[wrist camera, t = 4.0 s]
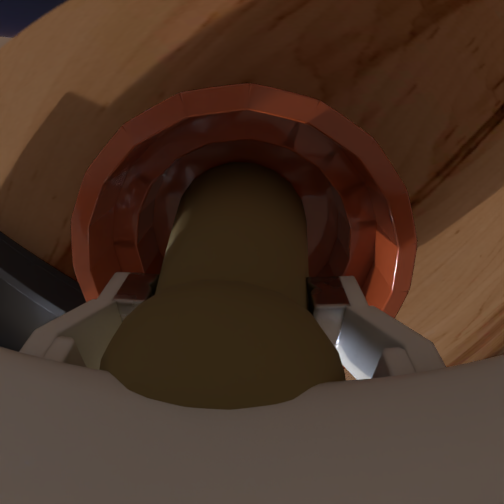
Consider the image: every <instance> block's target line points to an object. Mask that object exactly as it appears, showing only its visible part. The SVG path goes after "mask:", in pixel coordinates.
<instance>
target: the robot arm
mask: <svg viewBox="0 0 504 504" xmlns="http://www.w3.org/2000/svg"><path fill="white" fill-rule="evenodd" d="M159 276H160V274H149V273H131V272H116V273H115V274H114V275H113V277H112V278H111V279H110V281H109V282H108V284H107V285H106V286H105V288H104V289H103V291H102V292H101V294H100V295H99V297H98V298H97V299H92V300H90V301H88V302H86V303H84V304H82V305H80V306H78V307H77V308H75V309H73V310H71V311H69V312H67V313H65V314H63V315H61V316H60V317H58V318H56V319H54V320H52V321H50V322H48V323H46V324H45V325H43V326H41V327H39V328H37V329H35V330H34V332H33V333H32V334H31V336H30V337H29V338H28V340H27V341H26V343H25V344H24V345H23V347H22V348H21V350H20V351H19V352H18V351H14V350H10V349H7V348H4V347H0V504H504V354H503V355H499V356H495V357H491V358H487V359H483V360H479V361H474V362H470V363H465V364H461V365H456V366H451V367H446V366H445V364H444V362H443V360H442V358H441V357H440V355H439V353H438V351H437V349H436V348H435V346H434V344H433V342H431V341H430V340H428V339H426V338H425V337H423V336H422V335H420V334H418V333H417V332H415V331H414V330H412V329H410V328H409V327H407V326H406V325H404V324H402V323H401V322H399V321H397V320H396V319H394V318H393V317H391V316H389V315H388V314H386V313H384V312H383V311H381V310H380V309H378V308H376V307H375V306H369V305H368V303H367V301H366V299H365V297H364V295H363V293H362V291H361V289H360V287H359V285H358V283H357V281H356V279H355V277H354V276H332V277H306V283H307V293H308V298H309V312H310V313H311V314H312V315H313V317H314V318H315V320H316V321H317V322H318V324H319V325H320V327H321V328H322V329H323V331H324V332H325V334H326V335H327V336H328V338H329V339H330V341H331V342H332V344H333V345H334V346H335V348H336V349H337V351H338V352H339V356H340V359H341V362H342V365H343V366H344V367H345V368H346V369H347V370H348V371H349V372H350V373H351V374H352V375H353V376H354V377H355V378H356V379H357V380H349V381H335V382H325V383H321V384H318V385H316V386H314V387H311V388H310V389H308V390H307V391H305V392H304V393H302V394H301V395H299V396H298V397H296V398H295V399H293V400H290V401H286V402H283V403H279V404H274V405H267V406H260V407H252V408H243V409H233V410H223V409H205V408H191V407H183V406H178V405H174V404H169V403H165V402H161V401H157V400H153V399H149V398H146V397H144V396H142V395H139V394H137V393H135V392H132V391H130V390H128V389H127V388H126V387H125V386H124V385H123V384H122V383H121V382H119V381H118V380H117V379H116V378H115V377H114V376H113V375H112V374H111V373H110V372H108V371H104V370H99V368H100V362H101V358H102V356H103V354H104V352H105V350H106V348H107V346H108V344H109V343H110V341H111V339H112V337H113V336H114V334H115V333H116V331H117V329H118V328H119V326H120V325H121V323H122V322H123V320H124V318H125V317H126V316H127V315H128V314H130V313H131V312H132V311H133V310H134V309H135V308H136V307H137V306H138V305H139V304H141V303H142V302H144V301H146V300H147V299H149V298H150V297H152V296H154V295H155V292H156V288H157V284H158V280H159Z"/></svg>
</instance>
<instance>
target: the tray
mask: <svg viewBox="0 0 504 504" xmlns="http://www.w3.org/2000/svg"><path fill="white" fill-rule="evenodd" d="M84 303H86V300H85V298H84V295H83V293H82V290H81V288H80V285H79V283H78V282H76V281H75V280H73V279H71V278H70V277H68V276H66V275H65V274H63V273H61V272H60V271H58V270H57V269H55V268H53V267H52V266H50V265H49V264H47V263H46V262H44V261H42V260H41V259H39V258H38V257H36V256H35V255H33V254H32V253H30V252H29V251H27V250H26V249H24V248H23V247H21V246H20V245H19V244H17V243H16V242H14V241H13V240H11V239H10V238H9V237H7V236H6V235H4V234H3V233H2V232H0V347H4V348H7V349H10V350H14V351H18V352H19V351H20V350H21V348H22V347H23V345H24V344H25V343H26V341H27V340H28V338H29V337H30V336H31V334H32V333H33V332H34V330H35V329H37V328H39V327H41V326H43V325H45V324H46V323H48V322H50V321H52V320H54V319H56V318H58V317H60V316H61V315H63V314H65V313H67V312H69V311H71V310H73V309H75V308H77V307H78V306H80V305H82V304H84Z"/></svg>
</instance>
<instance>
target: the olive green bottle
mask: <svg viewBox="0 0 504 504" xmlns="http://www.w3.org/2000/svg"><path fill="white" fill-rule="evenodd" d="M306 277H309V270H308V241H307V220H306V216H305V211H304V207H303V203H302V200H301V198H300V197H299V195H298V194H297V192H296V191H295V189H294V188H293V186H292V184H291V183H290V182H288V181H287V180H286V179H285V178H283V177H282V176H281V175H280V174H278V173H277V172H276V171H274V170H272V169H269V168H267V167H264V166H261V165H258V164H255V163H246V162H230V163H226V164H223V165H219V166H216V167H213V168H210V169H208V170H207V171H206V172H204V173H203V174H201V175H200V176H198V177H197V178H196V179H194V180H193V181H192V182H191V184H190V185H189V187H188V188H187V189H186V191H185V192H184V194H183V195H182V197H181V199H180V203H179V206H178V209H177V213H176V216H175V220H174V223H173V227H172V230H171V234H170V237H169V241H168V245H167V249H166V252H165V256H164V260H163V264H162V268H161V272H160V276H159V280H158V284H157V288H156V292H155V295H154V296H152V297H150V298H149V299H147V300H146V301H144V302H142V303H141V304H139V305H138V306H137V307H136V308H135V309H134V310H133V311H132V312H131V313H130V314H128V315H127V316H126V317H125V318H124V320H123V322H122V323H121V325H120V326H119V328H118V329H117V331H116V333H115V334H114V336H113V337H112V339H111V341H110V343H109V344H108V346H107V348H106V350H105V352H104V354H103V356H102V358H101V362H100V368H99V370H104V371H108V372H110V373H111V374H112V375H113V376H114V377H115V378H116V379H117V380H118V381H119V382H121V383H122V384H123V385H124V386H125V387H126V388H127V389H128V390H130V391H132V392H135V393H137V394H139V395H142V396H144V397H146V398H149V399H153V400H157V401H161V402H165V403H169V404H174V405H178V406H183V407H191V408H205V409H223V410H233V409H243V408H252V407H260V406H267V405H274V404H279V403H283V402H286V401H290V400H293V399H295V398H296V397H298V396H299V395H301V394H302V393H304V392H305V391H307V390H308V389H310V388H311V387H314V386H316V385H318V384H321V383H325V382H335V381H346V380H345V373H344V369H343V366H342V362H341V359H340V356H339V352H338V351H337V349H336V348H335V346H334V345H333V344H332V342H331V341H330V339H329V338H328V336H327V335H326V334H325V332H324V331H323V329H322V328H321V327H320V325H319V324H318V322H317V321H316V320H315V318H314V317H313V315H312V314H311V313H310V312H309V298H308V293H307V283H306Z"/></svg>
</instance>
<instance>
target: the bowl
mask: <svg viewBox="0 0 504 504" xmlns="http://www.w3.org/2000/svg"><path fill="white" fill-rule="evenodd" d="M230 162H246V163H255V164H258V165H261V166H264V167H267V168H269V169H272V170H274V171H276V172H277V173H278V174H280V175H281V176H282V177H283V178H285V179H286V180H287V181H288V182H290V183H291V184H292V186H293V188H294V189H295V191H296V192H297V194H298V195H299V197H300V198H301V200H302V203H303V207H304V211H305V216H306V220H307V241H308V270H309V277H332V276H354V277H355V279H356V281H357V283H358V285H359V287H360V289H361V291H362V293H363V295H364V297H365V299H366V301H367V303H368V305H369V306H375V307H376V308H378V309H380V310H381V311H383V312H384V313H386V314H388V315H389V316H391V317H393V318H394V319H395V317H396V315H397V313H398V311H399V309H400V308H401V306H402V304H403V302H404V300H405V298H406V296H407V294H408V290H410V285H411V280H412V275H413V269H414V263H415V257H416V250H417V235H416V230H415V224H414V219H413V214H412V209H411V204H410V199H409V195H408V191H407V188H406V187H405V185H404V183H403V182H402V180H401V178H400V177H399V175H398V173H397V172H396V170H395V169H394V167H393V165H392V164H391V162H390V161H389V159H388V158H387V156H386V155H385V153H384V152H383V150H382V149H381V147H380V146H379V144H378V143H377V141H376V140H374V138H373V137H372V136H370V135H369V134H368V133H366V132H365V131H364V130H363V129H361V128H360V127H358V126H357V125H356V124H354V123H353V122H352V121H350V120H349V119H347V118H346V117H345V116H343V115H342V114H340V113H339V112H338V111H336V110H335V109H333V108H332V107H330V106H329V105H327V104H326V103H324V102H323V101H319V100H318V99H315V98H312V97H308V96H305V95H301V94H297V93H293V92H290V91H286V90H282V89H277V88H273V87H269V86H264V85H260V84H255V83H251V84H249V83H241V84H232V85H224V86H216V87H209V88H202V89H196V90H189V91H184V92H181V93H177V94H175V95H173V96H171V97H169V98H168V99H166V100H164V101H162V102H160V103H158V104H157V105H155V106H153V107H151V108H149V109H148V110H146V111H144V112H142V113H141V114H139V115H137V116H136V117H134V118H132V119H131V120H129V121H127V122H126V123H124V124H123V126H121V127H120V128H119V130H118V131H117V132H116V133H115V134H114V136H113V137H112V138H111V139H110V140H109V142H108V143H107V144H106V145H105V147H104V148H103V149H102V150H101V152H100V153H99V154H98V156H97V157H96V158H95V159H94V161H93V162H92V163H91V165H90V166H89V167H88V169H87V171H86V172H85V175H84V178H83V181H82V184H81V187H80V190H79V193H78V197H77V200H76V203H75V207H74V210H73V214H72V217H71V244H72V259H73V268H74V272H75V275H76V277H77V280H78V283H79V285H80V288H81V290H82V293H83V295H84V298H85V300H86V302H88V301H90V300H92V299H97V298H98V297H99V295H100V294H101V292H102V291H103V289H104V288H105V286H106V285H107V284H108V282H109V281H110V279H111V278H112V277H113V275H114V274H115V273H116V272H131V273H149V274H160V272H161V268H162V264H163V260H164V256H165V252H166V249H167V245H168V241H169V237H170V234H171V230H172V227H173V223H174V220H175V216H176V213H177V209H178V206H179V203H180V199H181V197H182V195H183V194H184V192H185V191H186V189H187V188H188V187H189V185H190V184H191V182H192V181H193V180H194V179H196V178H197V177H198V176H200V175H201V174H203V173H204V172H206V171H207V170H208V169H210V168H213V167H216V166H219V165H223V164H226V163H230ZM342 366H343V365H342ZM343 369H345V367H344V366H343Z"/></svg>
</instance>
